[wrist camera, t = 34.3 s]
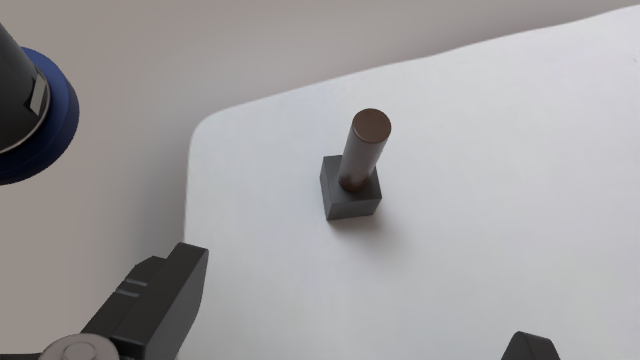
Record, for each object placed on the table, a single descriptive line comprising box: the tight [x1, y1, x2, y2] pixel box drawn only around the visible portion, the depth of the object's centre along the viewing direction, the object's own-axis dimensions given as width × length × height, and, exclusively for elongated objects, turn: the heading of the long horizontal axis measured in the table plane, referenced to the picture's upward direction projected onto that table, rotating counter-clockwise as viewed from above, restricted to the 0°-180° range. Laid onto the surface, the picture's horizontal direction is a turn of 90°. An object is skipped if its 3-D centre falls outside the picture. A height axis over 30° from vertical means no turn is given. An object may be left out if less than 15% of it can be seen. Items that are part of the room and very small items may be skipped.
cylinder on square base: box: [320, 108, 391, 220], centre depth 33 cm, size 4×4×12 cm
